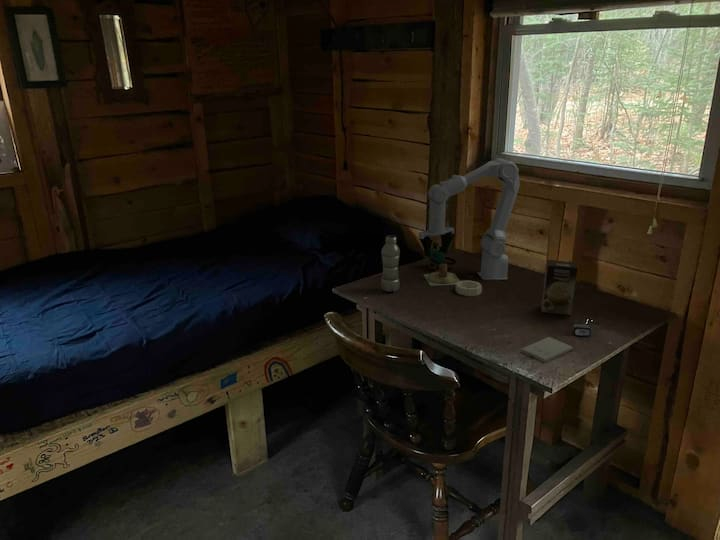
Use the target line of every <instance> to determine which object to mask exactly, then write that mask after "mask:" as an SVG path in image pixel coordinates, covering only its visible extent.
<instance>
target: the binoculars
mask: <svg viewBox="0 0 720 540" xmlns="http://www.w3.org/2000/svg"><path fill="white" fill-rule="evenodd" d="M446 255H447V253H446V254H445V253H442V246H439V243H438V242H434V241H432V247H431V251H430V257H428V258H429V259H428V260H429V265H428V268H429V269H434V272H439V264H442V263H444V264H447V272H448V271H449V272H450V271H452V268H453V267H451V265H453V266H454V265H456V263H457V262H456V259H454V258H452V257H449V256H446ZM448 265H450V266H448Z"/></svg>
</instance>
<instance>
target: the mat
mask: <svg viewBox="0 0 720 540" xmlns="http://www.w3.org/2000/svg"><path fill="white" fill-rule="evenodd" d="M452 273H453V274H455V273H454V272H452ZM429 274H430V273H425V274H423V275H422V276H424V278H425V280H426V281H427V283H428V284H429V286H431V287H433V286H453V285H454V286H456V283H458V282H459V281H461V280H460V279H459V278H458V277H457V281H456V282H454V283H451V284H437V283H433V282H431V281H430V280H429Z"/></svg>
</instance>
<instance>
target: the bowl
mask: <svg viewBox="0 0 720 540" xmlns="http://www.w3.org/2000/svg"><path fill="white" fill-rule="evenodd" d="M482 290H483V286H482V284H481V283H480V282H478V281H473V280H460V281H459V282H458V283H456V285H455V292H456V294H458V295H462V296H465V297H473V296H474V297H476V296H479V295H480V294H483V293H482Z"/></svg>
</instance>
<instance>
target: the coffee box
mask: <svg viewBox="0 0 720 540" xmlns="http://www.w3.org/2000/svg"><path fill="white" fill-rule="evenodd" d="M545 265H546V266H545V272H544V280H543V288H542V295H541V296H542V297H541V303H540V308H541V312H543V313H551V314H559V315H566V316H569V315H570V316H571V315H572V308H573V301H574V294H575V288H576V287H575V286H576V281H577V275H578V264H577V262H574V261H566V260H565V261H563V260H556V259H555V260H554V259H547V260H546V264H545Z"/></svg>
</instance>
